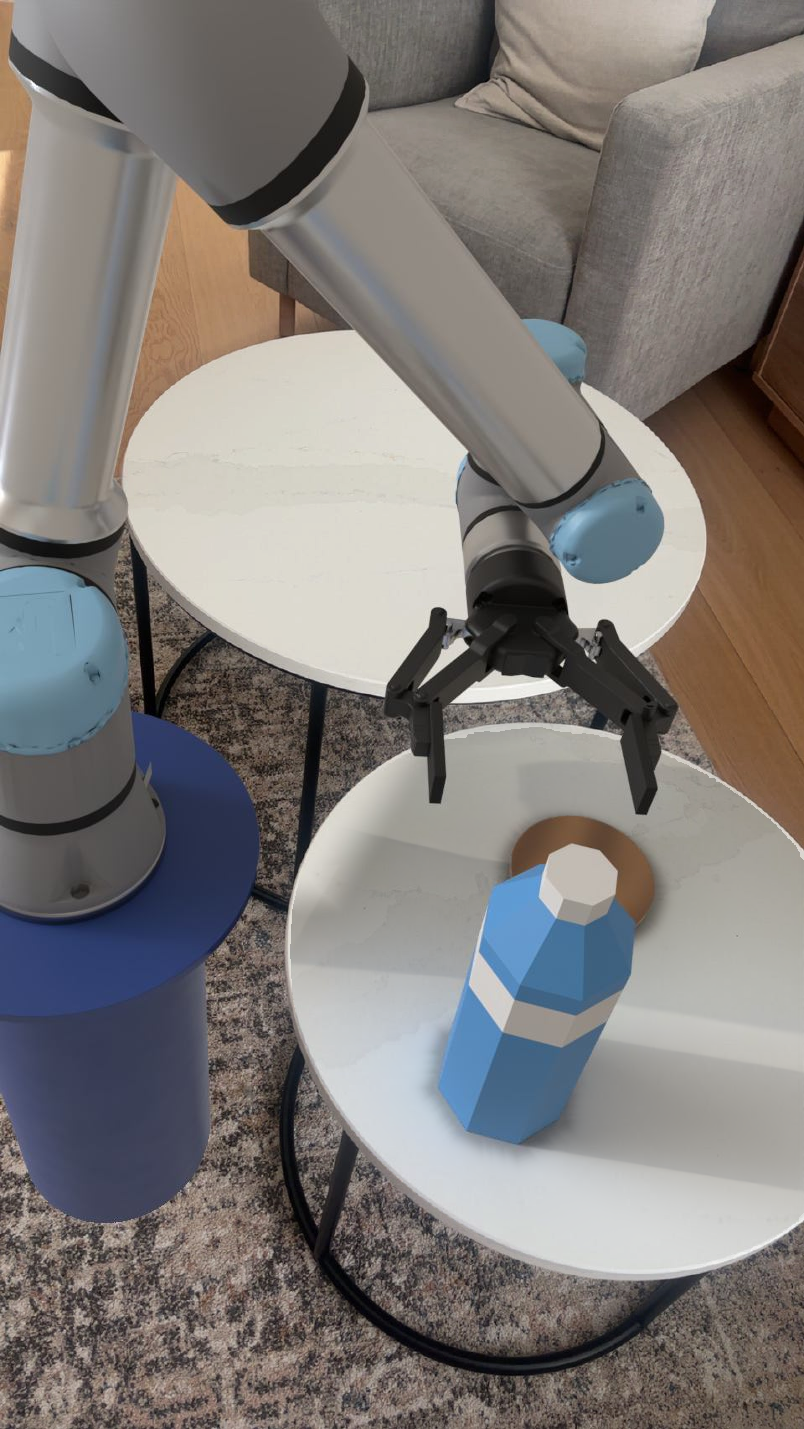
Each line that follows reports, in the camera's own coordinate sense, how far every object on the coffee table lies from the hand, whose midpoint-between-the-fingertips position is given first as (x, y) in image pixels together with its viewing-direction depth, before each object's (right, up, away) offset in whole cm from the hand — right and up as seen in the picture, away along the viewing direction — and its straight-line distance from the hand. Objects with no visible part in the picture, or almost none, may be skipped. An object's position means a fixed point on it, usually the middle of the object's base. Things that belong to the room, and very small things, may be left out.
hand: (543, 796), depth 70 cm
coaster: (+6, -8, +21) cm, 23 cm away
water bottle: (-2, -21, +8) cm, 22 cm away
